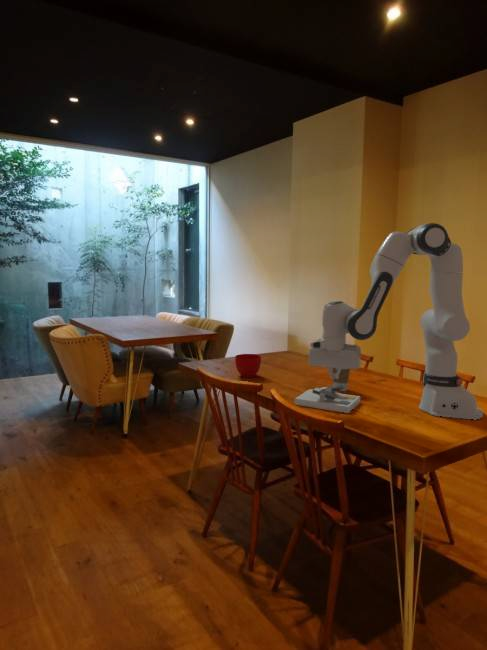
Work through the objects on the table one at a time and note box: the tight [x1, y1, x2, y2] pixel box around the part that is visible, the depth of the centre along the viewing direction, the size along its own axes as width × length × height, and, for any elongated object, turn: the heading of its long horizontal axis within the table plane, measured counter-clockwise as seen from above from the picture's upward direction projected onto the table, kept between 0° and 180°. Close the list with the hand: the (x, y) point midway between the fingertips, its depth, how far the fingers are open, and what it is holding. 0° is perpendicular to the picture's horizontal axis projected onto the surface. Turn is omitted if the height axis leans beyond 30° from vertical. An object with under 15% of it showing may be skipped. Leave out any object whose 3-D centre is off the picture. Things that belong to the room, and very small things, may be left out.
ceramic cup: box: [234, 353, 262, 378], centre depth 232 cm, size 13×17×10 cm
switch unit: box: [294, 385, 361, 414], centre depth 185 cm, size 22×16×6 cm
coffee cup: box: [332, 367, 351, 392], centre depth 205 cm, size 8×8×15 cm
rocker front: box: [312, 387, 337, 400], centre depth 181 cm, size 9×4×1 cm, turn 61°
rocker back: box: [320, 385, 343, 392], centre depth 188 cm, size 9×4×1 cm, turn 60°
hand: (334, 378), depth 179 cm, fingers closed
